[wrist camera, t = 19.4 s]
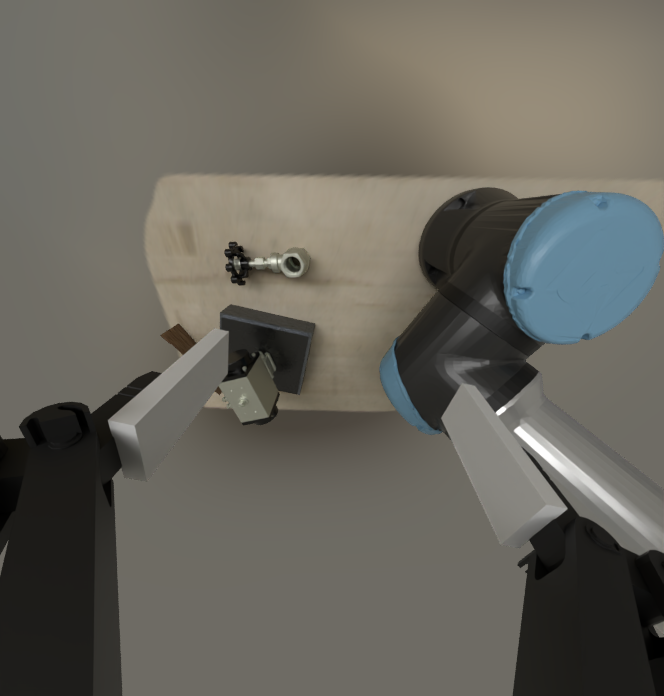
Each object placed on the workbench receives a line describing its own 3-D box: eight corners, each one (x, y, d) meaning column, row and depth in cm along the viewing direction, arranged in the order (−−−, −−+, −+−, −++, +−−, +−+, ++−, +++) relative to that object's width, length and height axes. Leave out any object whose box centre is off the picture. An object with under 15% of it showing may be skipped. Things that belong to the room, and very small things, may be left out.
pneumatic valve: (263, 330, 42) (236, 369, 32) (288, 384, 48) (272, 432, 37) (235, 338, 43) (199, 378, 33) (262, 390, 49) (239, 438, 38)
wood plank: (173, 326, 49) (156, 337, 44) (180, 322, 48) (164, 332, 44) (223, 383, 55) (212, 398, 50) (230, 380, 54) (220, 394, 50)
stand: (315, 323, 47) (311, 334, 42) (302, 381, 53) (299, 396, 49) (230, 304, 46) (218, 313, 41) (228, 366, 52) (218, 380, 48)
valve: (310, 236, 40) (237, 240, 41) (304, 240, 34) (219, 244, 35) (313, 278, 43) (246, 280, 44) (308, 287, 37) (230, 290, 38)
